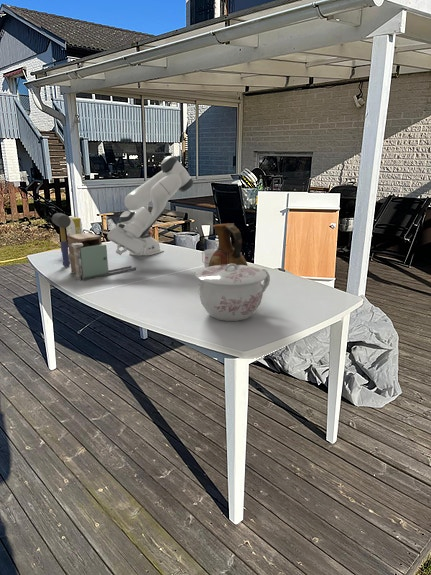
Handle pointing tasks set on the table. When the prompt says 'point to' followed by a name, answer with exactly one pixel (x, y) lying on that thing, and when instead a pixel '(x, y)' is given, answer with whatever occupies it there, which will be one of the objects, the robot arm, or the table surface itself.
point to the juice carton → (74, 226)
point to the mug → (207, 256)
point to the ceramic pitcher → (227, 246)
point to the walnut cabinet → (74, 249)
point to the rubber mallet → (62, 234)
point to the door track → (111, 272)
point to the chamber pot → (231, 290)
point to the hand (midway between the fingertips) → (118, 253)
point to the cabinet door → (93, 260)
